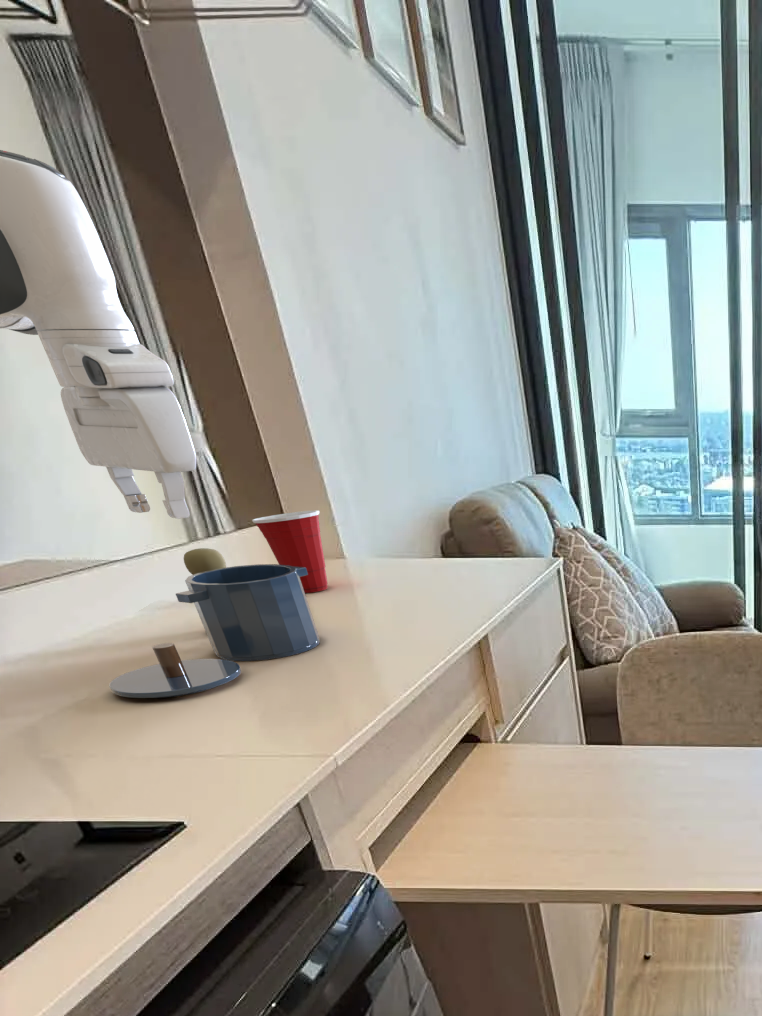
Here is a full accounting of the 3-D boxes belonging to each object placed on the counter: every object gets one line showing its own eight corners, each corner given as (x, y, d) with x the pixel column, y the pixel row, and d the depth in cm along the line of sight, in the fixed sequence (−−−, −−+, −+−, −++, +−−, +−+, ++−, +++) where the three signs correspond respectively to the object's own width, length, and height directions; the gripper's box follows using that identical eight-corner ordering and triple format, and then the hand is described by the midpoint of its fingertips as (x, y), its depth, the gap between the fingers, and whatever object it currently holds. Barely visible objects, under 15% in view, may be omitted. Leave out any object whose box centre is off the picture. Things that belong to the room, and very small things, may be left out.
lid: (87, 695, 105) (67, 655, 102) (192, 663, 115) (177, 626, 112) (165, 709, 100) (147, 667, 97) (268, 674, 110) (254, 636, 107)
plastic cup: (308, 582, 157) (284, 507, 149) (355, 585, 154) (332, 508, 146) (263, 594, 149) (235, 516, 141) (311, 598, 146) (285, 518, 138)
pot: (176, 660, 116) (143, 584, 110) (288, 627, 130) (264, 558, 124) (245, 670, 112) (215, 592, 106) (354, 635, 125) (332, 564, 119)
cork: (218, 637, 126) (185, 554, 119) (203, 631, 129) (170, 550, 122) (259, 629, 129) (229, 548, 122) (243, 623, 132) (213, 544, 125)
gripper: (27, 367, 93) (91, 512, 102) (112, 365, 84) (175, 525, 93) (89, 366, 97) (146, 505, 106) (177, 364, 88) (231, 517, 97)
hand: (160, 514), depth 99 cm, fingers open, 8 cm apart
